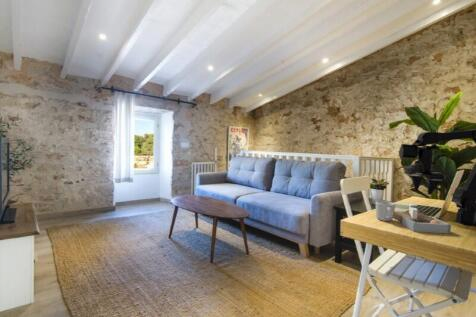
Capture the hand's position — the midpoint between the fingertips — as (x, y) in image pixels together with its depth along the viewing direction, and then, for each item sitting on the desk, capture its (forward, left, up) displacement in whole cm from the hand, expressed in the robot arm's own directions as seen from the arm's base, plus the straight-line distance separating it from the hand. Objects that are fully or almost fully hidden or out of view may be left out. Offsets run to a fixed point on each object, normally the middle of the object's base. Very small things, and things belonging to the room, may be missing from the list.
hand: (422, 192), depth 121 cm
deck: (+6, +4, -13) cm, 15 cm away
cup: (+19, +6, -13) cm, 24 cm away
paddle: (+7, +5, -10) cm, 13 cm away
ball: (+4, +15, -11) cm, 19 cm away
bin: (+8, +15, -13) cm, 21 cm away
